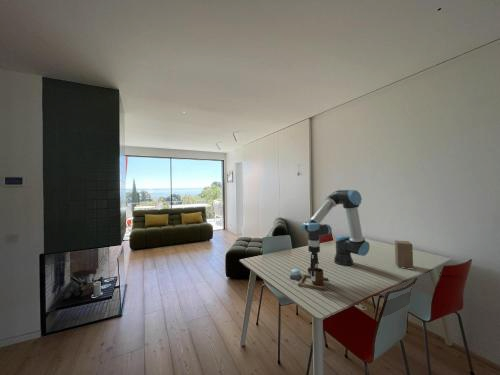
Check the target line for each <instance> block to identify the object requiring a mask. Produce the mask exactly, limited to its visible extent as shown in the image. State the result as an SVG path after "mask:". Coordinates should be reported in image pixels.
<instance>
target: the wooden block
mask: <svg viewBox="0 0 500 375" xmlns="http://www.w3.org/2000/svg"><path fill="white" fill-rule="evenodd" d="M413 248H414V247H413V243H412V242H410V241H409V240H408V241H407V240H397V239H396V240H394V253H395V254H394V259H395V260H394V262H395V263H394V264H395V265H396V267H397V266H398V267H404V268H403V269H405V268H413V269H414V257H413V256H414V254H413V253H414V252H413V251H414V250H413ZM398 267H397V268H398Z"/></svg>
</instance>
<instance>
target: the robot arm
mask: <svg viewBox="0 0 500 375" xmlns="http://www.w3.org/2000/svg"><path fill="white" fill-rule="evenodd" d="M361 204H362V195H361V193H360V192H359V191H358V190H354V189H344V190H340V189H337V190H336V191H333V192H332V193H331V194H329V195H328V196H327V197H326V198H325V199H324V202H323V203H322V205H320V207H318V210H317V211H315V213H314V214H312V216H311V218H310V219H308V221H304V222H302V224H301V229H302V231H303V232H306V233H307V237H308V238H307V244H308V252H309V253H311V254H310V271H311V278H310V281H311V282H312V281H315V268H319V264H320V262H319V256H318V255H319V253H320V252H321V247H320V245H321V244H320V243H321V241H320V240H321V239H320V237H322V236H323V237H324V236H328V235H330V234H332V230H333V229H332V227H331V225H330V224H327V223H326V224H325V223H324V224H321V222H322V221H323V220H324V218H326V216H327V215H328V214H329V213H330V212H331V210H332V209H333V208H335V207H336V206H338V205H342V207H343V209H345V213H346V217H347V224H348V228H349V234H350V235H338V236H336V237H335V255H334V257H333V262H334V263H335V264H337V265H340V266H352V265H354V260H353V258H352V255H351V254H355V255H358V256H362V257H364V256H366V255H367V254H368V253H369V251H370V243H369V242H368V241H366V238H365V237H364V236H363V232H362V227H361V221H360V215H359V210H358V208H359V207H360V205H361Z"/></svg>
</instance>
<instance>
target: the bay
mask: <svg viewBox="0 0 500 375" xmlns="http://www.w3.org/2000/svg"><path fill="white" fill-rule="evenodd" d="M305 278H308V279H311V275H310V274H305V273H302V277H301V279H300V280H298V284H297V285H298V287H303V288H307V289H309V288H310V289H314V290H318V291H319V290H320V291H326V292H327V287H325V286H316V285H314V284H309V283H303V282H304V280H305ZM323 281H324V282H325V281H326V282H329V277H325V276H323Z"/></svg>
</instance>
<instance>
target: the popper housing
mask: <svg viewBox="0 0 500 375" xmlns="http://www.w3.org/2000/svg"><path fill="white" fill-rule="evenodd" d="M302 276H303V273H301V272H300V276H293V275H292V272H291V273H290V275H289V279H290V280H291V279H292V280H297V281H300V279H301V277H302Z"/></svg>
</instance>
